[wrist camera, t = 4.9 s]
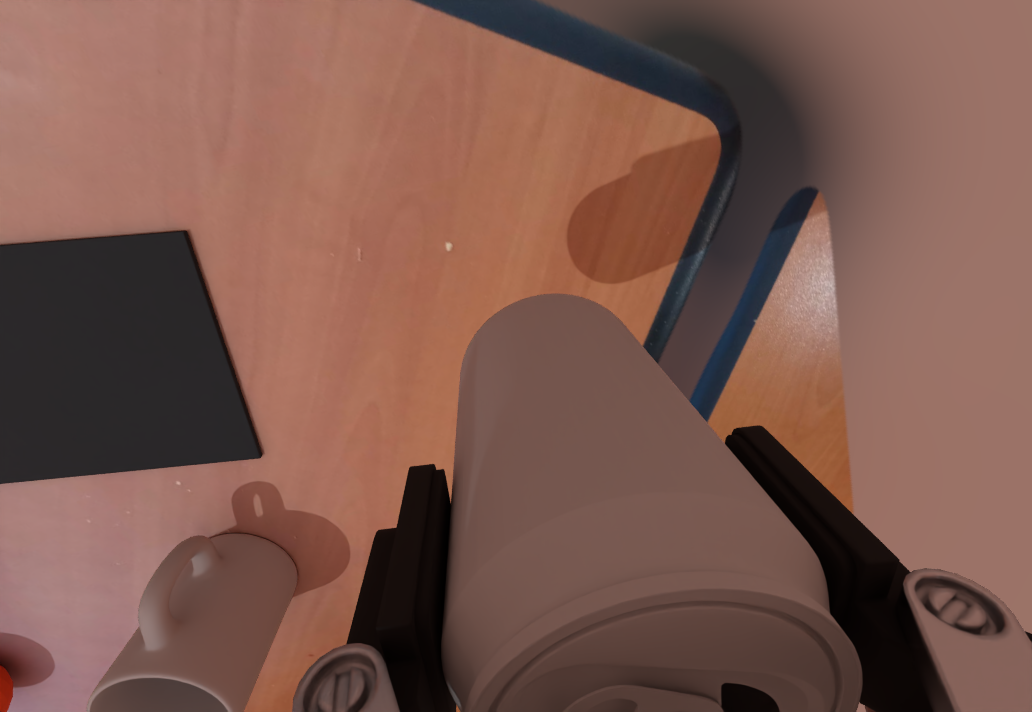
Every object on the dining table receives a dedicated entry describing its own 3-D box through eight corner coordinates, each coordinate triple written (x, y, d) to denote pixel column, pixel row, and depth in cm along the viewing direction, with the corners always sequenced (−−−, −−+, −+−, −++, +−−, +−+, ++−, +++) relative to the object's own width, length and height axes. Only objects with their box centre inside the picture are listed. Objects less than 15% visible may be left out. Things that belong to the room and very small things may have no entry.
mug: (308, 604, 40) (252, 754, 30) (205, 613, 40) (113, 768, 30) (276, 492, 36) (197, 625, 26) (158, 500, 35) (31, 639, 25)
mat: (186, 230, 28) (182, 231, 28) (262, 455, 34) (260, 458, 34) (-245, 264, 27) (-255, 265, 27) (-84, 489, 33) (-90, 493, 33)
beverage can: (578, 464, 19) (714, 879, 8) (431, 407, 18) (363, 828, 7) (665, 332, 17) (997, 653, 6) (508, 254, 16) (588, 502, 5)
